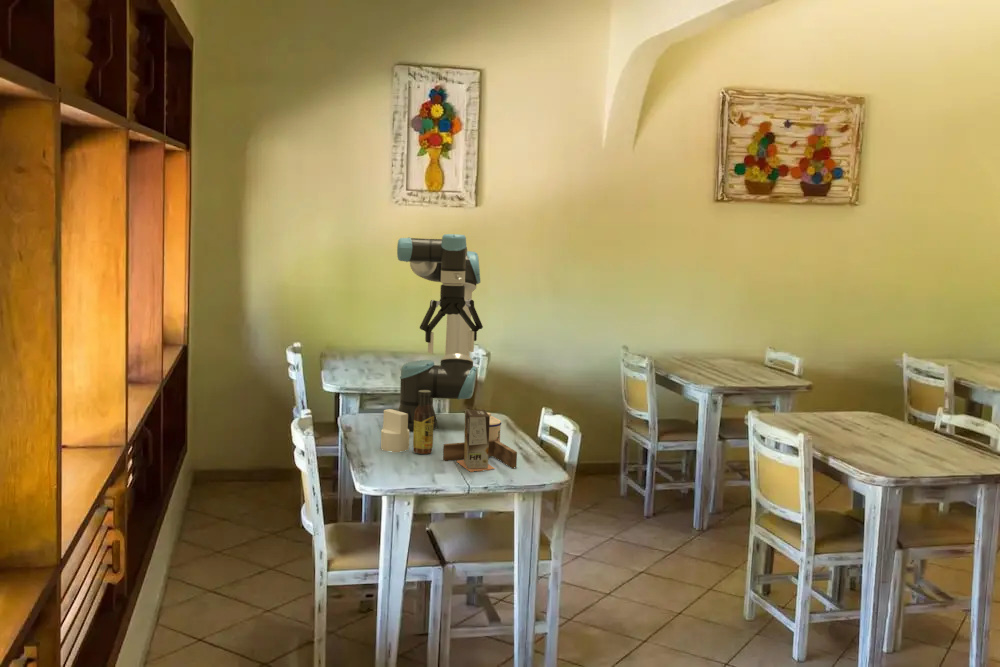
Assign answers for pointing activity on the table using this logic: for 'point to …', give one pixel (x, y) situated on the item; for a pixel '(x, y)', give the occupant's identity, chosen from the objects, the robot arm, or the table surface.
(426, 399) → the sauce bottle
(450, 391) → the robot arm
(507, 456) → the walnut corner walls
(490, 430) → the teacup with lid
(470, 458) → the coffee box
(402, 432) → the base with upright slab
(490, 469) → the terracotta mat
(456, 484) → the table surface
